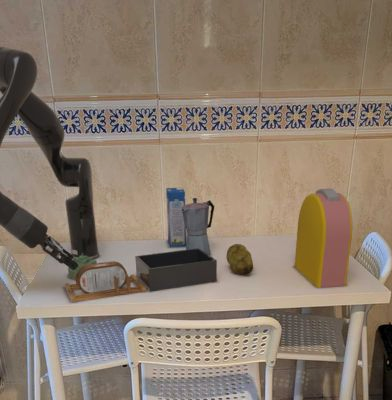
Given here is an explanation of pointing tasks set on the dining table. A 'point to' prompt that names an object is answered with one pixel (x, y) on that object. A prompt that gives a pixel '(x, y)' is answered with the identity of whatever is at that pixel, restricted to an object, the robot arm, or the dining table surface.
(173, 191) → the milk carton
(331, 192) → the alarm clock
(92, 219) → the robot arm
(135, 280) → the dish rack
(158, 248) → the dining table surface
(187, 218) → the moka pot
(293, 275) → the dining table surface
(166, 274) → the dark grey open box
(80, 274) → the tin
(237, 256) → the olive green oval lump
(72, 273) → the decorative artifact
